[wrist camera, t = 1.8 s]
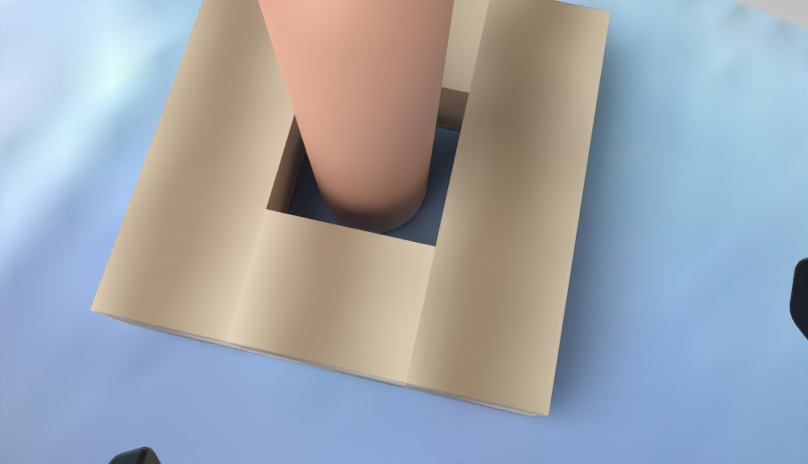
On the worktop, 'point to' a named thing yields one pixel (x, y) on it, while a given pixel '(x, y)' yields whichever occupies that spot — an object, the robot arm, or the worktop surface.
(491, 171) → the pocket block
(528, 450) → the worktop surface
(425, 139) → the terracotta peg
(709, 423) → the worktop surface
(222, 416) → the worktop surface
